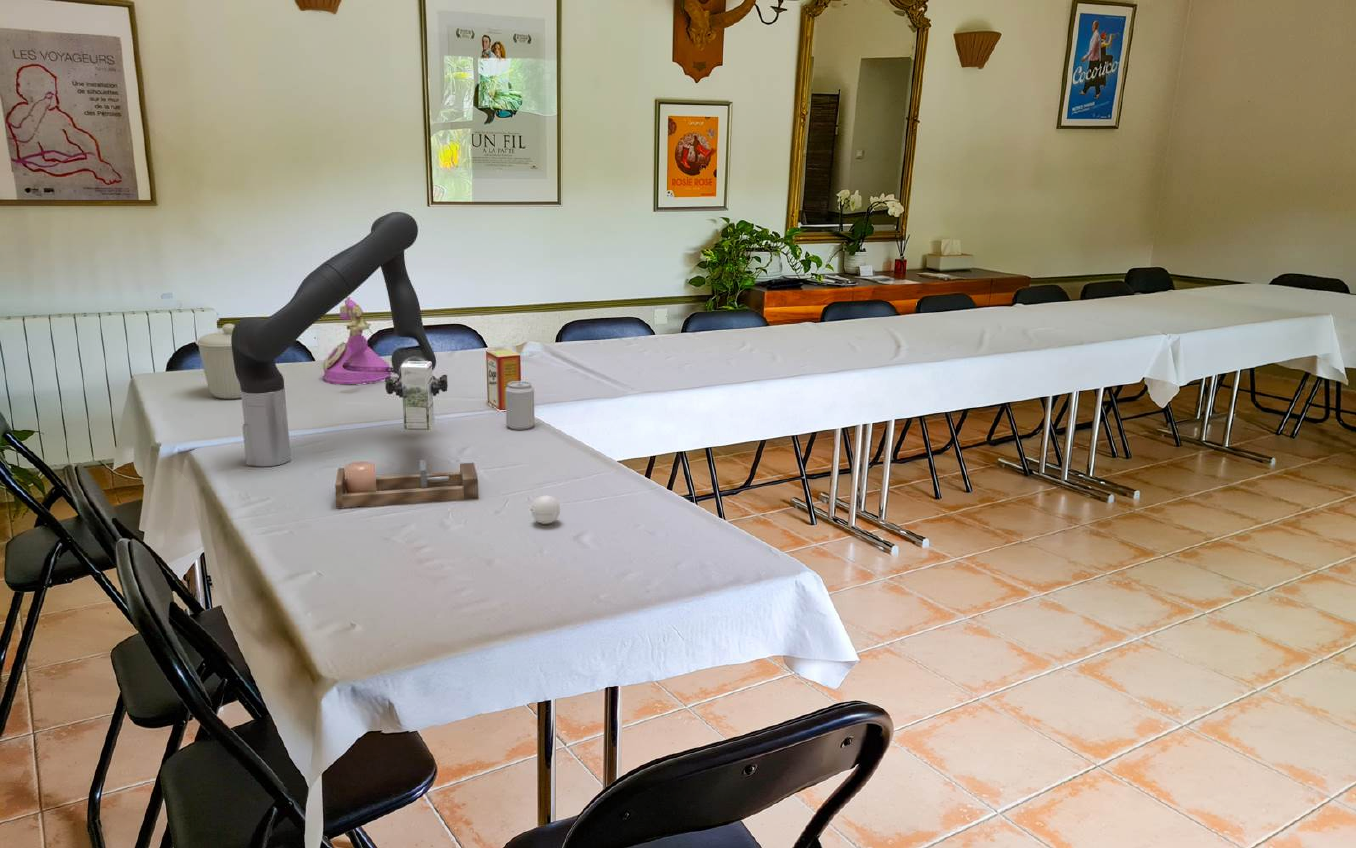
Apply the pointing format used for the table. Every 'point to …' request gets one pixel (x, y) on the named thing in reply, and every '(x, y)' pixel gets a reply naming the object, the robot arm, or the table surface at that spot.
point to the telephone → (355, 353)
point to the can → (519, 405)
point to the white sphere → (545, 509)
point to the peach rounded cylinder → (360, 477)
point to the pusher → (428, 479)
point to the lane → (463, 478)
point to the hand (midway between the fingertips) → (417, 392)
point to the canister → (219, 363)
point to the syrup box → (417, 395)
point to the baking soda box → (501, 375)
